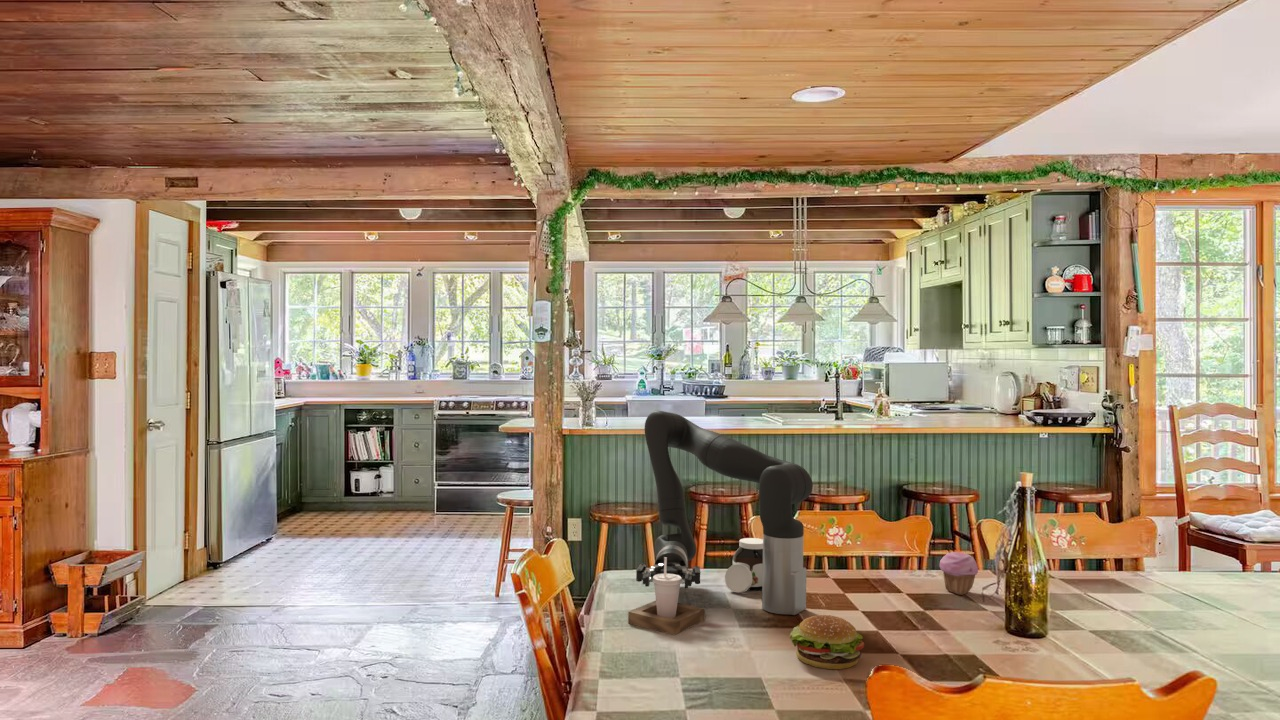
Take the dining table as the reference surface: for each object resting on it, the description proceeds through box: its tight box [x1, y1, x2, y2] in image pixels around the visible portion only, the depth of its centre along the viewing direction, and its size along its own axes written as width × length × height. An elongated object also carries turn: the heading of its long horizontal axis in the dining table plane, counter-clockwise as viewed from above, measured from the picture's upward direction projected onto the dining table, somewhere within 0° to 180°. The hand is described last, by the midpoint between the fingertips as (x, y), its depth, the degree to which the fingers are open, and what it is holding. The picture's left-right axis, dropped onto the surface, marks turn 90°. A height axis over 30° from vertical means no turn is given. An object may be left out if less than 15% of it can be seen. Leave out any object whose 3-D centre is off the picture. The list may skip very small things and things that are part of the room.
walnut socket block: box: [627, 599, 706, 636], centre depth 175 cm, size 12×12×2 cm
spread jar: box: [724, 537, 763, 594], centre depth 202 cm, size 12×11×12 cm
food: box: [789, 614, 865, 670], centre depth 155 cm, size 14×14×8 cm
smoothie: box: [652, 557, 682, 618], centre depth 175 cm, size 6×6×14 cm
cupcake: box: [939, 551, 979, 596], centre depth 201 cm, size 9×9×10 cm
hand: (666, 582), depth 173 cm, fingers open, 8 cm apart
